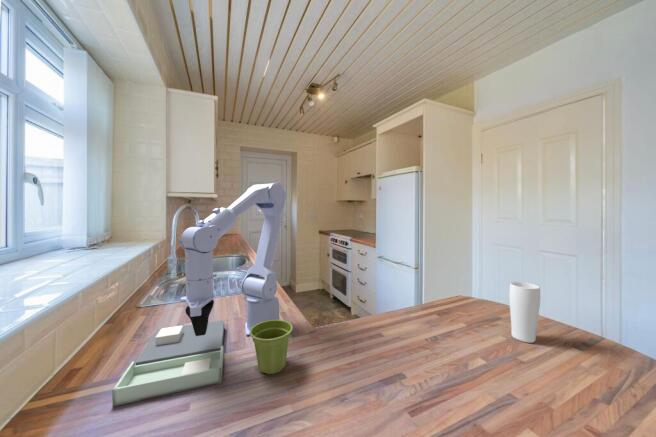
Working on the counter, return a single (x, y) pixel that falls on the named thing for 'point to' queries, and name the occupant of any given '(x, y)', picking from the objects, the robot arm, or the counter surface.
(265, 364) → the plant pot
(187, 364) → the tile
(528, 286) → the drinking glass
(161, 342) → the tile
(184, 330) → the board
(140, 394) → the tray
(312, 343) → the counter surface
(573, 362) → the counter surface
